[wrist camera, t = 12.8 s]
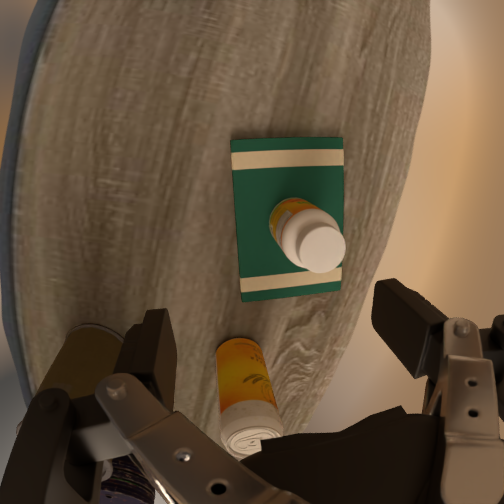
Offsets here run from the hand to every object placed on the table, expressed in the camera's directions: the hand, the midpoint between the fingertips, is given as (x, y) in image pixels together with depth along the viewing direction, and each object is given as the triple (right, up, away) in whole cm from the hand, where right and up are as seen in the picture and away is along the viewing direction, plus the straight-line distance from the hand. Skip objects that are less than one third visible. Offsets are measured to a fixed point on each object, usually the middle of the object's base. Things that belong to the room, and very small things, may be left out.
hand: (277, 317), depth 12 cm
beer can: (-3, -11, +28) cm, 30 cm away
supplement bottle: (+3, +6, +23) cm, 24 cm away
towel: (+3, +6, +23) cm, 24 cm away
